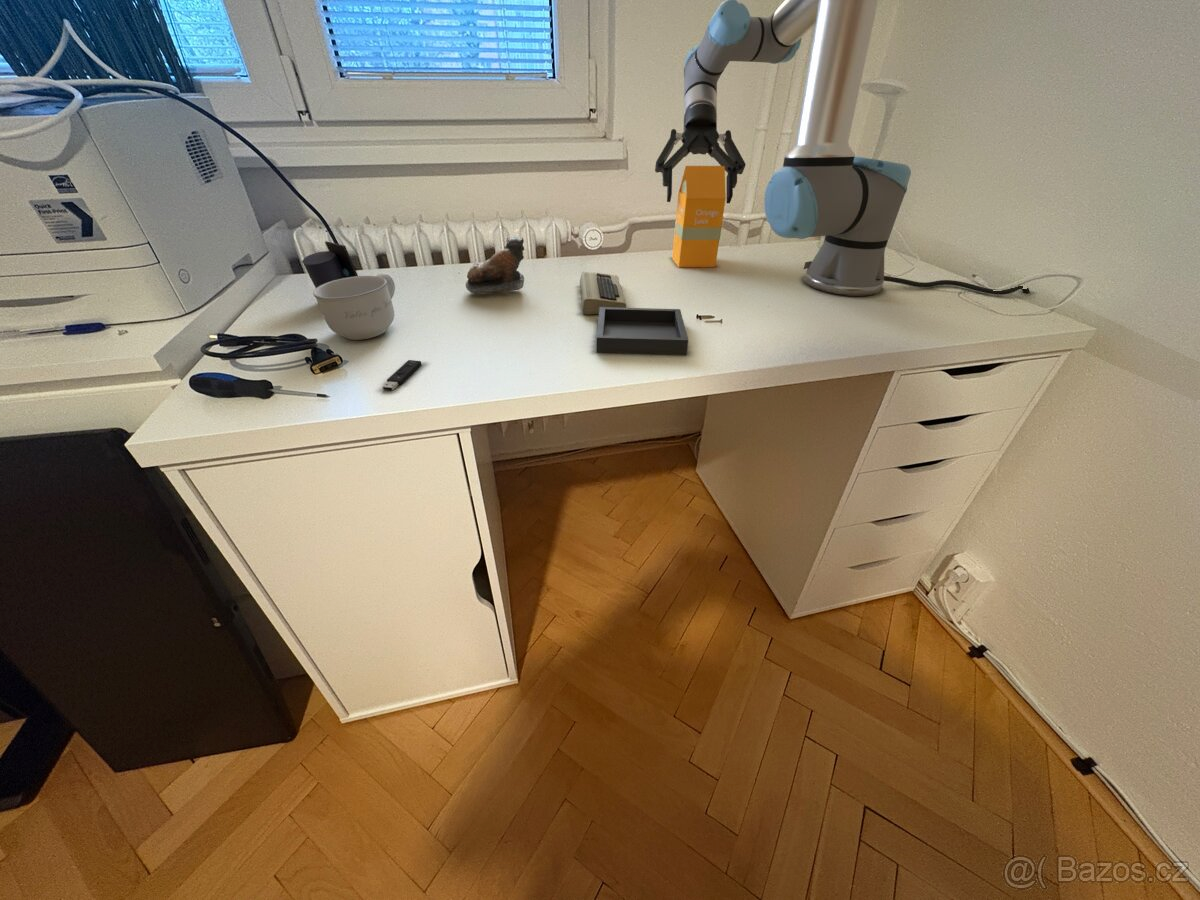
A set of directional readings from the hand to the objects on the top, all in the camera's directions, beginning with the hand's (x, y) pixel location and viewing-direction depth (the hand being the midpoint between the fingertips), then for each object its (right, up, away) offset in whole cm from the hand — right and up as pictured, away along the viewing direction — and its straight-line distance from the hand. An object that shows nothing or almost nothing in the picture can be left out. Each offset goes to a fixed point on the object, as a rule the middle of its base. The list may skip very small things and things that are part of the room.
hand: (699, 198), depth 109 cm
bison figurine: (-43, -25, -12) cm, 51 cm away
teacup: (-61, -37, -28) cm, 76 cm away
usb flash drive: (-50, -47, -41) cm, 80 cm away
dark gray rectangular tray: (-16, -38, -29) cm, 50 cm away
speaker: (-71, -29, -18) cm, 79 cm away
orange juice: (0, -12, +6) cm, 14 cm away
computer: (-22, -28, -15) cm, 39 cm away
